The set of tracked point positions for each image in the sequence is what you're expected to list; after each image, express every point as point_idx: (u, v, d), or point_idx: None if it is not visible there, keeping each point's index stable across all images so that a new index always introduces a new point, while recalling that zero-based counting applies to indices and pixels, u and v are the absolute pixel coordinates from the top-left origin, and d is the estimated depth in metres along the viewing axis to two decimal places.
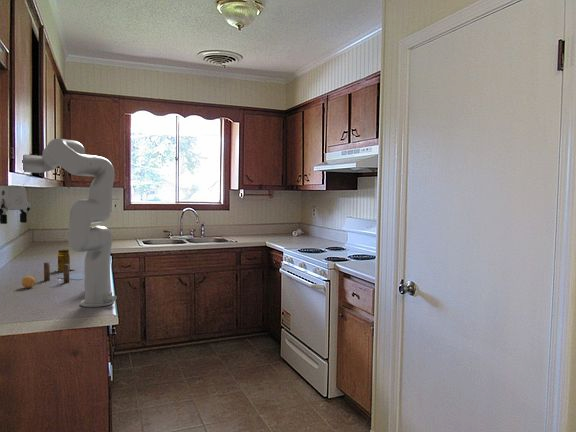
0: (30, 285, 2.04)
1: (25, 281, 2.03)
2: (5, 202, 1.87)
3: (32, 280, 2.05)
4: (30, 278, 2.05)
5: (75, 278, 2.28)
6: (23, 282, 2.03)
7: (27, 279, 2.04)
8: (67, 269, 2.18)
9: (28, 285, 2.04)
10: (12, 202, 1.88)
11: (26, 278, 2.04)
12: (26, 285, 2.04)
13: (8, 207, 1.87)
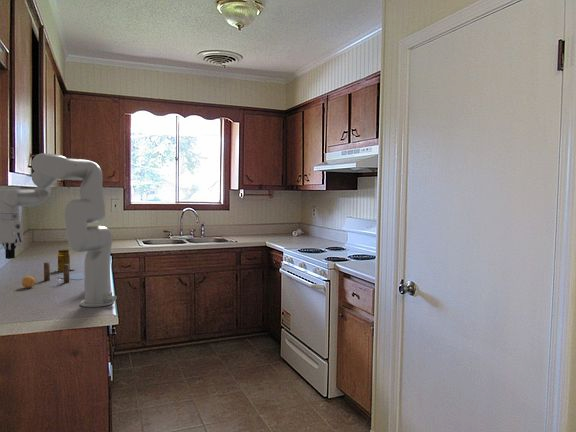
0: (30, 285, 2.04)
1: (25, 281, 2.03)
2: (21, 236, 1.96)
3: (32, 280, 2.05)
4: (30, 278, 2.05)
5: (75, 278, 2.28)
6: (23, 282, 2.03)
7: (27, 279, 2.04)
8: (67, 269, 2.18)
9: (28, 285, 2.04)
10: None
11: (26, 278, 2.04)
12: (26, 285, 2.04)
13: (22, 239, 1.97)
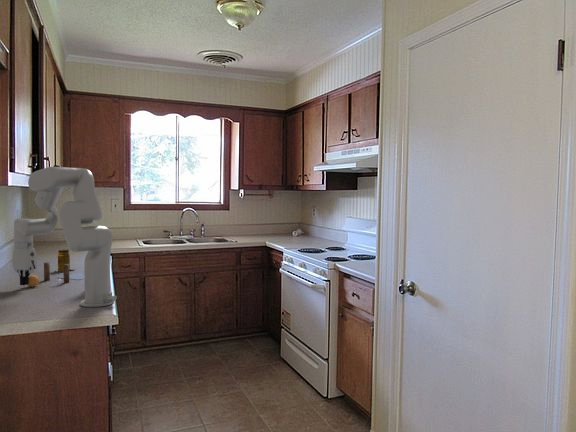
0: (33, 283, 2.06)
1: (30, 277, 2.06)
2: (35, 263, 2.03)
3: (37, 279, 2.08)
4: (36, 276, 2.08)
5: (75, 278, 2.28)
6: None
7: (33, 276, 2.07)
8: (67, 269, 2.18)
9: (31, 282, 2.06)
10: None
11: (32, 275, 2.08)
12: (30, 281, 2.06)
13: None
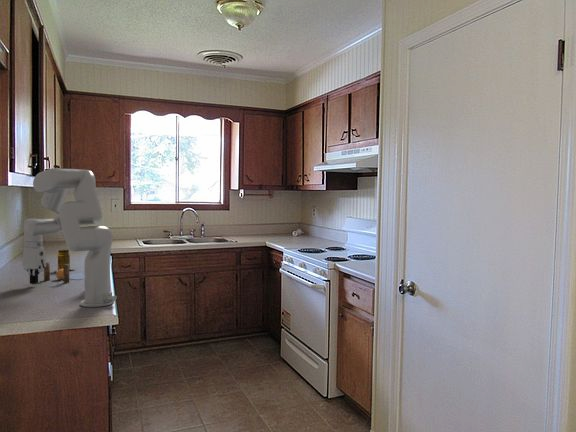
0: None
1: (62, 269, 2.25)
2: (44, 262, 2.08)
3: None
4: None
5: (75, 278, 2.28)
6: (59, 269, 2.25)
7: None
8: (67, 269, 2.18)
9: (61, 273, 2.24)
10: None
11: None
12: (60, 272, 2.24)
13: None
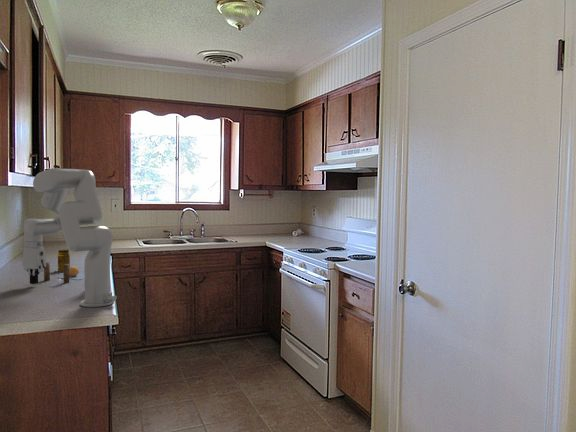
0: (78, 270, 2.35)
1: None
2: (44, 262, 2.08)
3: (76, 273, 2.33)
4: (75, 275, 2.33)
5: (75, 278, 2.28)
6: None
7: (75, 275, 2.34)
8: (67, 269, 2.18)
9: None
10: None
11: (74, 276, 2.34)
12: None
13: None
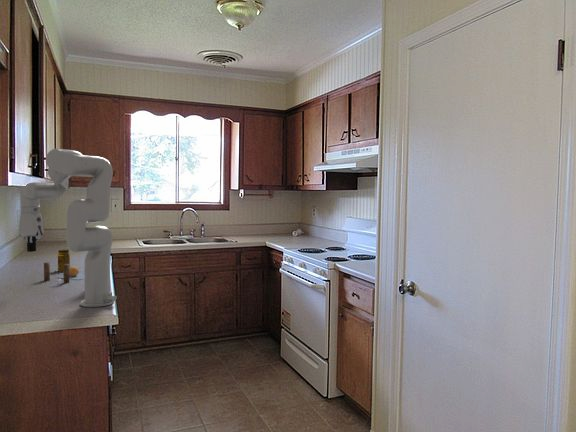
0: (78, 270, 2.35)
1: None
2: (41, 229, 1.99)
3: (76, 273, 2.33)
4: (75, 275, 2.33)
5: (75, 278, 2.28)
6: None
7: (75, 275, 2.34)
8: (67, 269, 2.18)
9: None
10: None
11: (74, 276, 2.34)
12: None
13: (43, 232, 2.00)
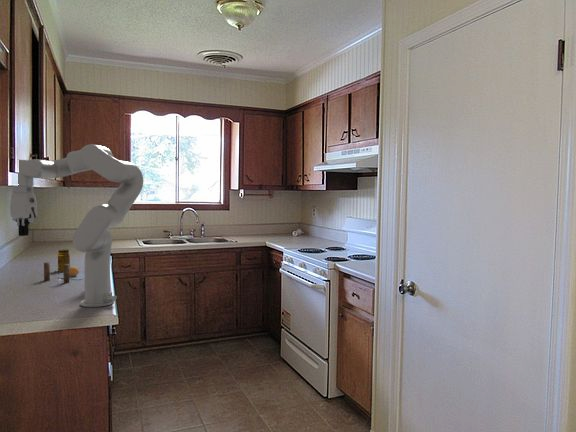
0: (78, 270, 2.35)
1: None
2: (35, 210, 1.79)
3: (76, 273, 2.33)
4: (75, 275, 2.33)
5: (75, 278, 2.28)
6: None
7: (75, 275, 2.34)
8: (67, 269, 2.18)
9: None
10: None
11: (74, 276, 2.34)
12: None
13: None
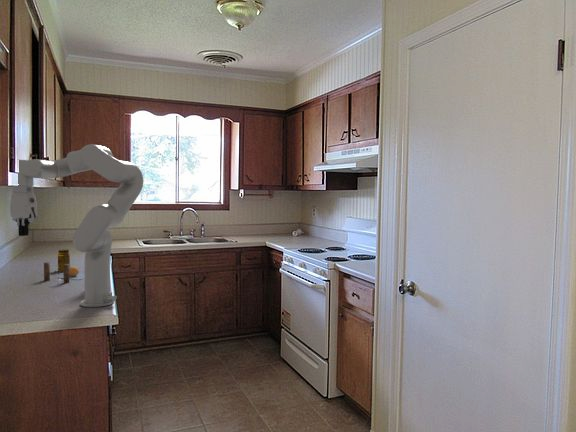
0: (78, 270, 2.35)
1: None
2: (35, 210, 1.79)
3: (76, 273, 2.33)
4: (75, 275, 2.33)
5: (75, 278, 2.28)
6: None
7: (75, 275, 2.34)
8: (67, 269, 2.18)
9: None
10: None
11: (74, 276, 2.34)
12: None
13: None
